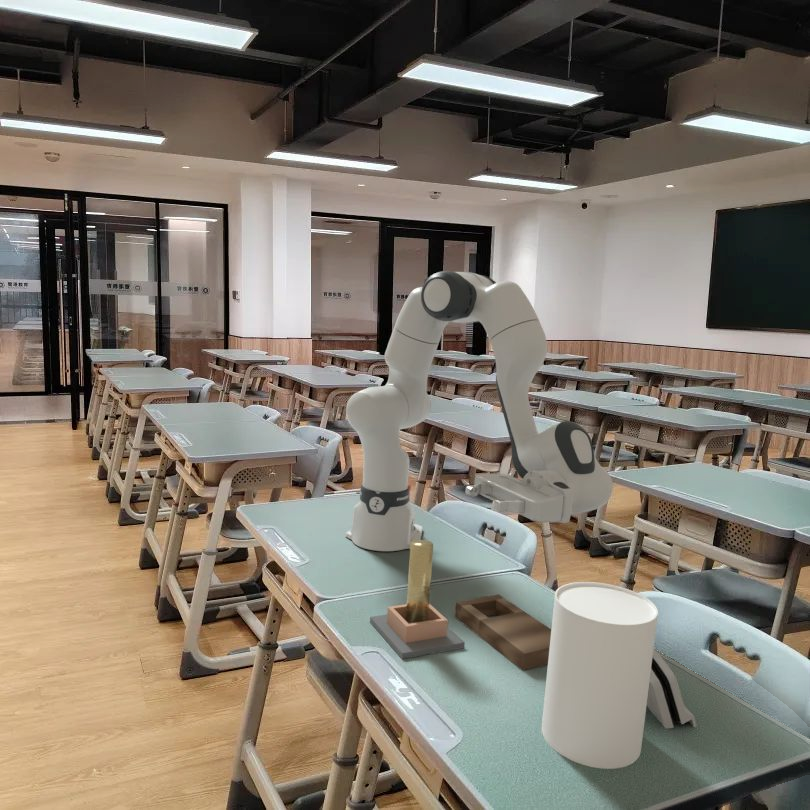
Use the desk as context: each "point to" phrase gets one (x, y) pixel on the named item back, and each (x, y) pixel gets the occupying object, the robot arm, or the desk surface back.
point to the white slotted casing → (666, 695)
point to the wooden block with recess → (507, 629)
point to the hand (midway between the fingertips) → (481, 498)
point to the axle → (419, 581)
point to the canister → (598, 673)
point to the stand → (416, 633)
